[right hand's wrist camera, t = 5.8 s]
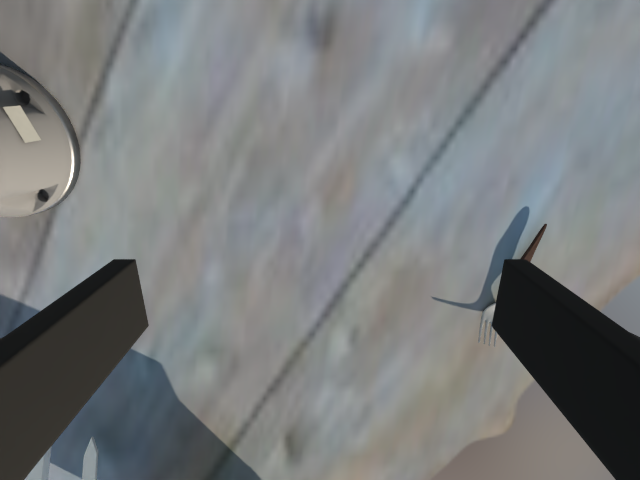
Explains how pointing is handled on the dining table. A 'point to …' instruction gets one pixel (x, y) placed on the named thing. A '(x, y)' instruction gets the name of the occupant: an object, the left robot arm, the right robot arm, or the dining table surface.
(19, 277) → the dining table surface
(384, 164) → the dining table surface
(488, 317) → the fork
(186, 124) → the dining table surface
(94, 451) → the white plastic object
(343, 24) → the dining table surface
